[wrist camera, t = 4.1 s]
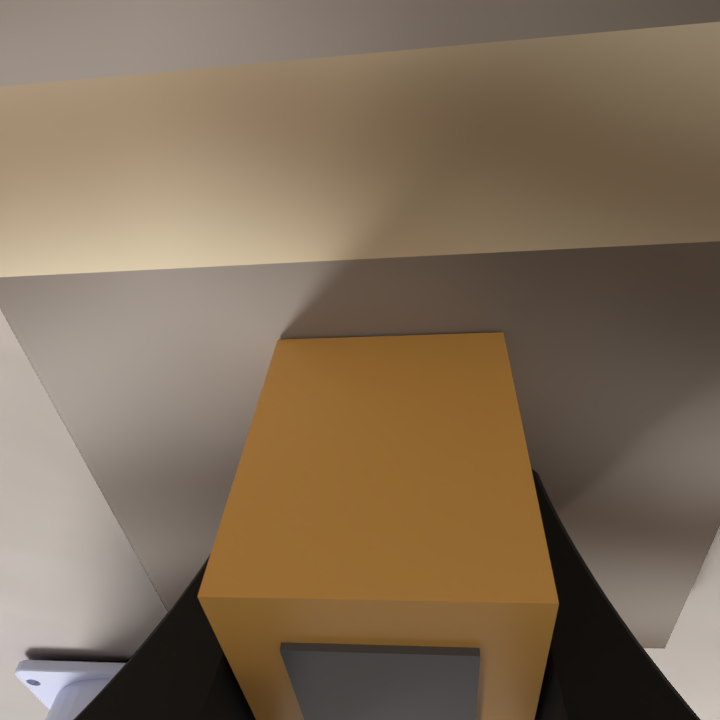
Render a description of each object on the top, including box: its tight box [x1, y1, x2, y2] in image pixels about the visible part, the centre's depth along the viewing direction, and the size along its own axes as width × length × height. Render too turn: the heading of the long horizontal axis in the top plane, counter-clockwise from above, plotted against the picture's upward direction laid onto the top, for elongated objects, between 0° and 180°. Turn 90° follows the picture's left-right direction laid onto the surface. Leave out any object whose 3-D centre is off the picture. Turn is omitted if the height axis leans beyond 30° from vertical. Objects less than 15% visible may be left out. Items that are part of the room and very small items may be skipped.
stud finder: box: [197, 332, 559, 720], centre depth 11 cm, size 7×4×5 cm, turn 5°
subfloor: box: [0, 0, 720, 648], centre depth 12 cm, size 20×19×1 cm
